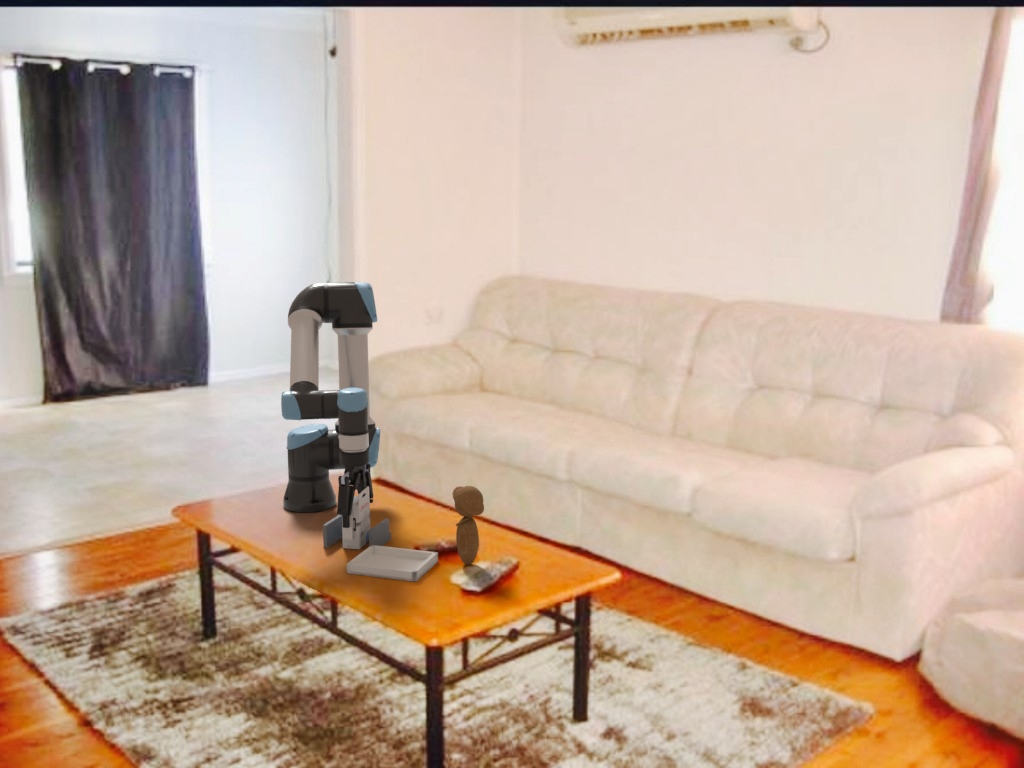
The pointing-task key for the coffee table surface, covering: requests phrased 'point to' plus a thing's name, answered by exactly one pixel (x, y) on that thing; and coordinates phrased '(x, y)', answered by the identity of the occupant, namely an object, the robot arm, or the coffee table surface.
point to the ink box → (359, 521)
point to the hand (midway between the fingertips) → (356, 532)
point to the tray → (392, 563)
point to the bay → (376, 534)
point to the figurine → (467, 521)
